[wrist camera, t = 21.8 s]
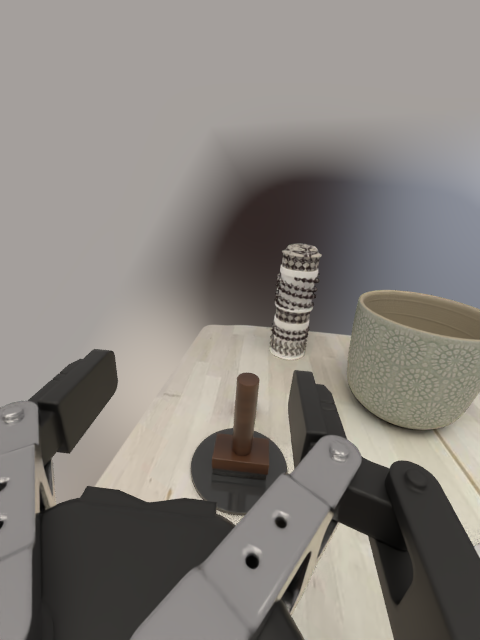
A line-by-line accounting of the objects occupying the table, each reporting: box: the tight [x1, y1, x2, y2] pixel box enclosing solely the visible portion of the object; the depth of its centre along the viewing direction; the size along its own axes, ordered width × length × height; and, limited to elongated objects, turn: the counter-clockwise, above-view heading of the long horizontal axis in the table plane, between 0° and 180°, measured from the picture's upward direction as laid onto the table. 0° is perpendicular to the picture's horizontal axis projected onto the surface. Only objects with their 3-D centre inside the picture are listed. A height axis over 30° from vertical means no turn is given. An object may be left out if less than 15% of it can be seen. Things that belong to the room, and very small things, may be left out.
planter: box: [347, 290, 480, 430], centre depth 49 cm, size 21×21×19 cm
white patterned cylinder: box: [270, 244, 321, 360], centre depth 64 cm, size 9×9×25 cm
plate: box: [191, 428, 287, 515], centre depth 39 cm, size 13×13×1 cm
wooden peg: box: [212, 373, 269, 480], centre depth 36 cm, size 4×7×14 cm, turn 85°
